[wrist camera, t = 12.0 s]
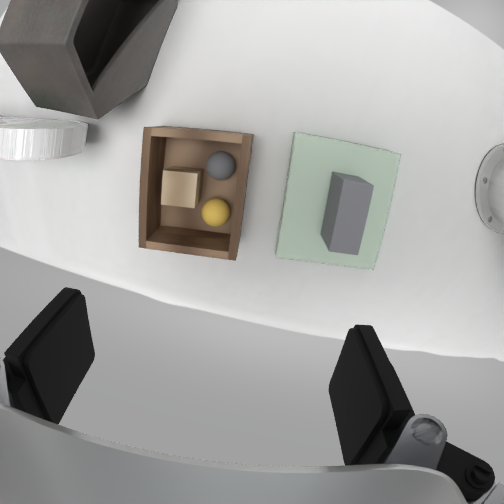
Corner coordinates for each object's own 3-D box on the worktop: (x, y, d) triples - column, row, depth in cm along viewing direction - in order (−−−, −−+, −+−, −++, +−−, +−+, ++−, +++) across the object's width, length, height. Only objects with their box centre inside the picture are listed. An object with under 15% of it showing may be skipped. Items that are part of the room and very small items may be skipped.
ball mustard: (232, 197, 35) (230, 203, 32) (229, 223, 36) (227, 232, 33) (205, 193, 35) (200, 200, 32) (203, 220, 36) (198, 228, 33)
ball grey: (238, 151, 33) (236, 154, 30) (234, 179, 34) (232, 184, 31) (210, 148, 33) (205, 150, 30) (207, 176, 34) (202, 180, 31)
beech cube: (203, 168, 33) (197, 173, 30) (200, 200, 35) (194, 208, 32) (172, 165, 33) (163, 170, 30) (170, 196, 35) (160, 204, 31)
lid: (393, 152, 33) (421, 160, 26) (368, 262, 38) (387, 290, 32) (293, 132, 33) (301, 133, 26) (275, 250, 38) (278, 277, 32)
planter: (112, 148, 29) (41, -18, 9) (54, 133, 28) (-33, -3, 8) (177, 38, 32) (181, -106, 12) (125, 29, 32) (107, -102, 11)
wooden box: (253, 134, 33) (251, 136, 27) (239, 239, 37) (235, 260, 32) (162, 126, 32) (143, 127, 27) (156, 228, 37) (138, 247, 31)
